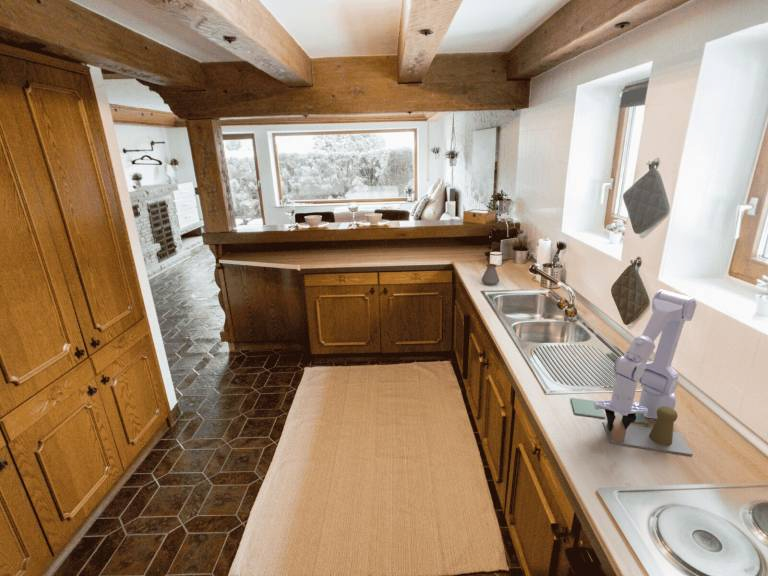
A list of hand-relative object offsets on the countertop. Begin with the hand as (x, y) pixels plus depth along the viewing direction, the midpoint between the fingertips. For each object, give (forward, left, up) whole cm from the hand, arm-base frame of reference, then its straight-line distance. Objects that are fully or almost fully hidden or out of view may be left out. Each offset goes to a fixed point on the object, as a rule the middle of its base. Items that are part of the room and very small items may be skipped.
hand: (615, 429), depth 128 cm
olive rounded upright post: (-13, 0, -1) cm, 13 cm away
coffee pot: (+43, -144, -2) cm, 150 cm away
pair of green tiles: (0, -12, -2) cm, 12 cm away
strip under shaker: (-8, 0, -2) cm, 9 cm away
